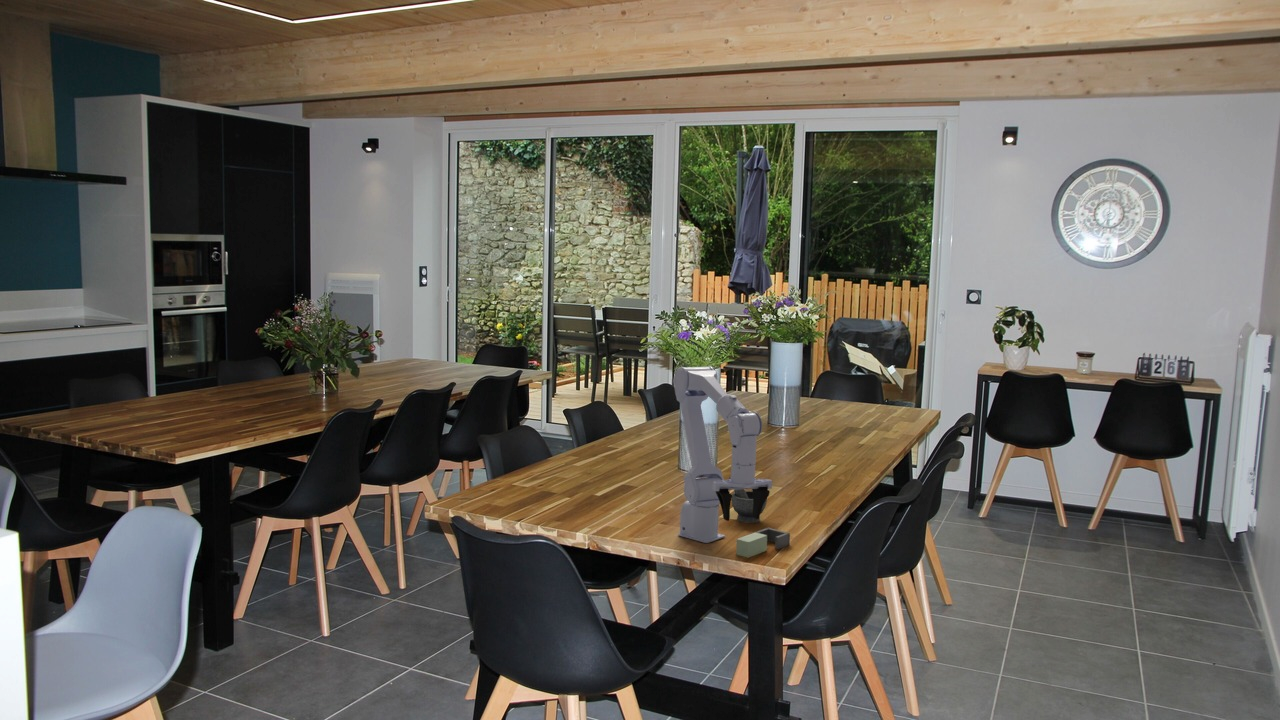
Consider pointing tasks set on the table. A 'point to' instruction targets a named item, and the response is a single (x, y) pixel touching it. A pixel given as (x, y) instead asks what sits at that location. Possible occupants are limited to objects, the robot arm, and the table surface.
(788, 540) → the dark grey piece
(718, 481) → the robot arm
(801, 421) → the table surface
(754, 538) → the rectangular block
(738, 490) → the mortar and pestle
